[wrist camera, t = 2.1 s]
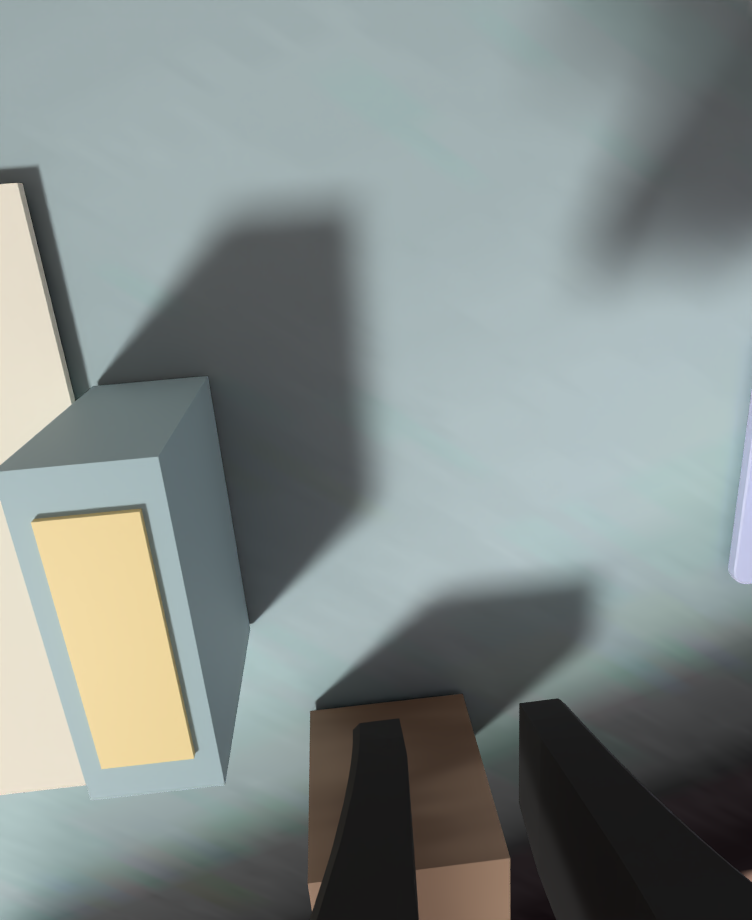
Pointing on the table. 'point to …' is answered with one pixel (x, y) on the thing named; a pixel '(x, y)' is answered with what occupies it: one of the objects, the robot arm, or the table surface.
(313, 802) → the walnut bookend
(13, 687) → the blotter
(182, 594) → the blue-grey box
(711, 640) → the table surface
